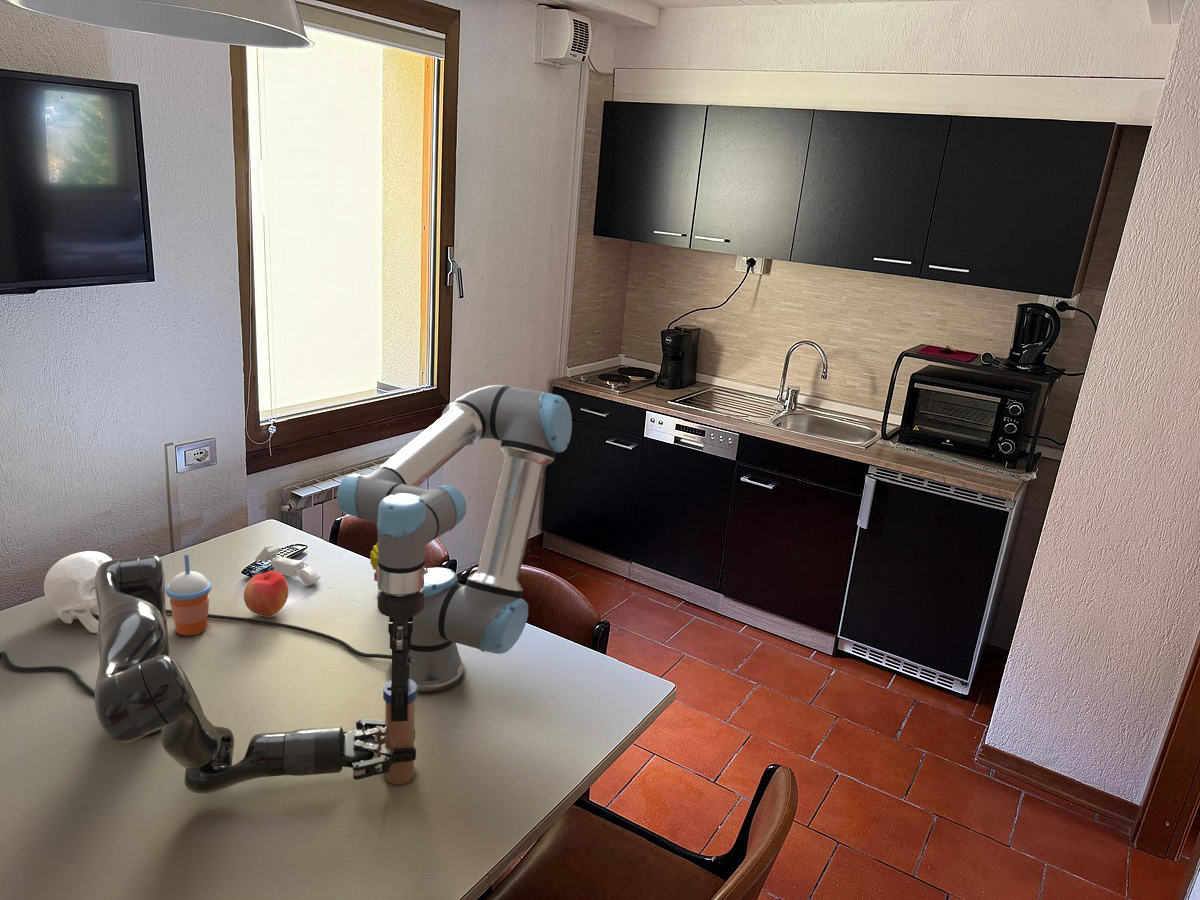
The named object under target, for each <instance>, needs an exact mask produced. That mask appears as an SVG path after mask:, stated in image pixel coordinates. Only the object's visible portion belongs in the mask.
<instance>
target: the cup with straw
mask: <svg viewBox="0 0 1200 900" xmlns="http://www.w3.org/2000/svg"><path fill="white" fill-rule="evenodd" d="M183 558H184V571H183V572H180V573H177V575H175V576H174V577H173V578H172V579H171V581H170V583H168V584H167V586H166V587H165V595H166V596H167V597H168V598H169V599H170V600H169V605H170V610H172V614H171V615H172V620H173V621H174V624H175V626H174V627H175V630H176V632H177V633H178V634H179V635H182V636H195V635H198V634H200V633H203V632H205V630H206V629H207V627H208V618H207V616H208V614H209V609H210V608H209V607H210V595H209V593H210V592H211V590H212V583H211V581H209V579H207V577H205V575H204V574H202V573H200V572H198V571H193V570H191V569H190V568H191V567H190V556H189V554H184V557H183Z"/></svg>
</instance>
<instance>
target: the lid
mask: <svg viewBox="0 0 1200 900" xmlns="http://www.w3.org/2000/svg"><path fill="white" fill-rule="evenodd" d="M407 684H408V704H409V703H411V702H413V701H414V700H415V701H416V699H417V697H418V693H417V684H416V683H415V682H414V681H412V680H410V679H407ZM389 685H392V680H391V679H390V680H389V681H387V682H386V683H384V685H383V688H382V690H383V691H382V698H383V700H384V702H387V703H388V704H391V690H387V686H389Z"/></svg>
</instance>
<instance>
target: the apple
mask: <svg viewBox="0 0 1200 900" xmlns="http://www.w3.org/2000/svg"><path fill="white" fill-rule="evenodd" d="M288 597H289V584H288V581H287V579H286V577H285V575H282V574H281V573H278V572H275V571H268V570H267V571H266V572H264V573H259V574H255V575H254V576H253V577H251V578H250V579H249V580H248V582H247V583H246V585H245V587H244V590H243V601H244V604H245V607H247V609H248V610H249V611H250V612H252V613H253V614H255V615H257V616H261V617H265V618H269V617H273V616H275V615H276V614H278V613H279V612H280V611H281V610H282V609H283V607H284V606H285V605H286V603H287V600H288Z"/></svg>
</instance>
